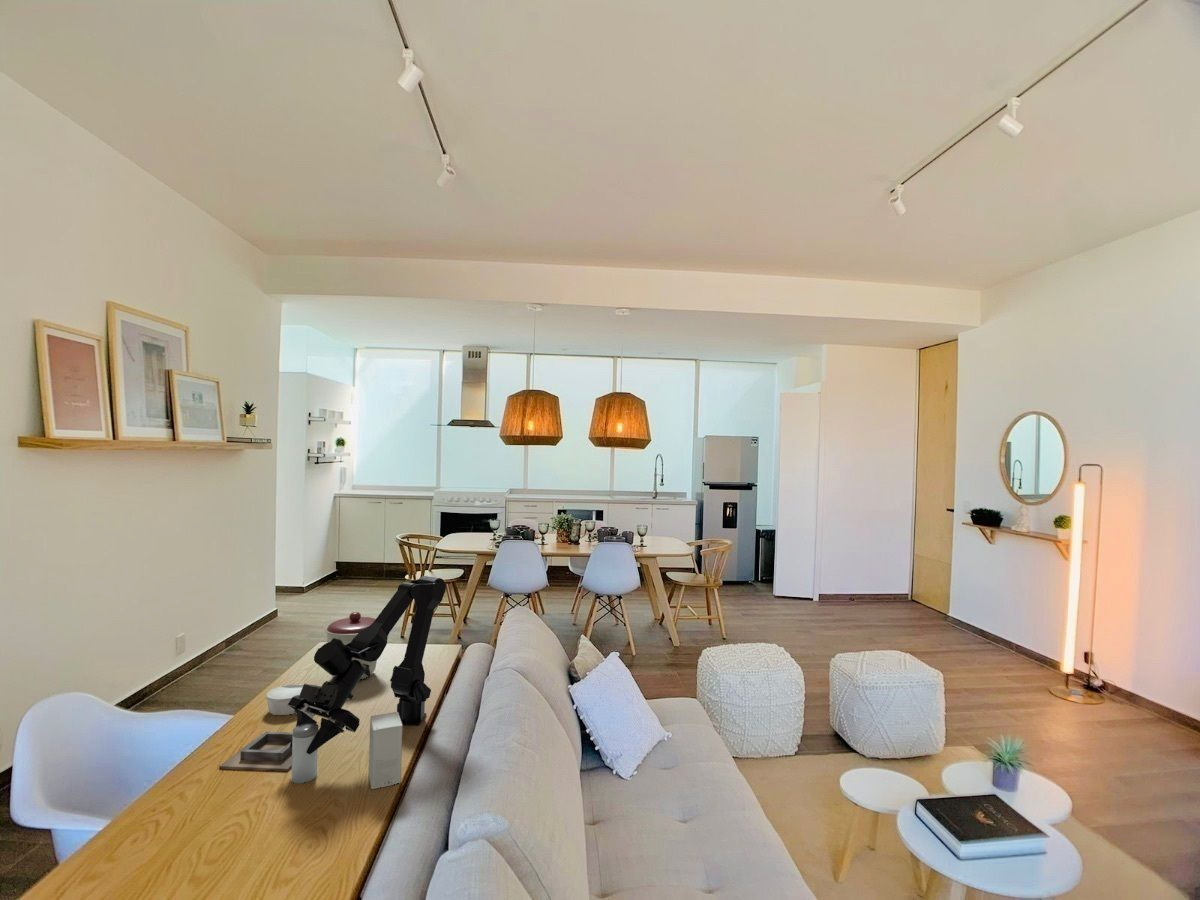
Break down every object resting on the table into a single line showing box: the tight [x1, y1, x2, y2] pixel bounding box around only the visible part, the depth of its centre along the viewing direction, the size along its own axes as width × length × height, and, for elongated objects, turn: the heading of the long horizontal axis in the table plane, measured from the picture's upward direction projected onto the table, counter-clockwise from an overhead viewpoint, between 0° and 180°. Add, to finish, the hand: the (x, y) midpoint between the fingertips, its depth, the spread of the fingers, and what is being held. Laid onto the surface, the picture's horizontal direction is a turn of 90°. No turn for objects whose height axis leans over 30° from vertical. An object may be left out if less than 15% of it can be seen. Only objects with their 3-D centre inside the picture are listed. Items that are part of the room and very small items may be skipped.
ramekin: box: [265, 683, 304, 716], centre depth 166 cm, size 11×11×5 cm
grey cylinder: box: [290, 723, 320, 784], centre depth 132 cm, size 5×5×11 cm
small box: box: [367, 711, 404, 790], centre depth 133 cm, size 8×6×13 cm
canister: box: [324, 611, 378, 680], centre depth 192 cm, size 18×18×21 cm
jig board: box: [218, 731, 293, 772], centre depth 142 cm, size 16×16×3 cm
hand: (299, 750), depth 131 cm, fingers closed on grey cylinder, 5 cm apart
